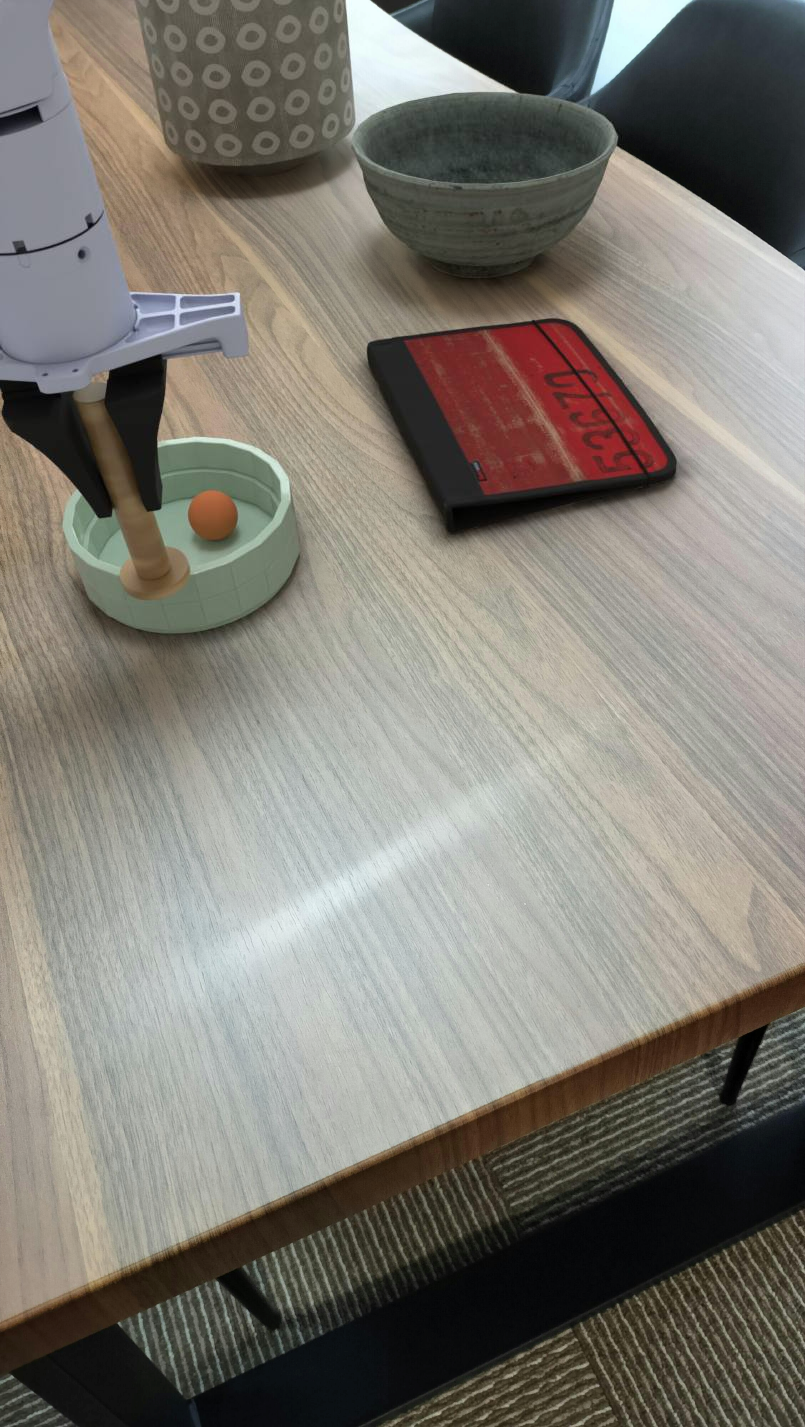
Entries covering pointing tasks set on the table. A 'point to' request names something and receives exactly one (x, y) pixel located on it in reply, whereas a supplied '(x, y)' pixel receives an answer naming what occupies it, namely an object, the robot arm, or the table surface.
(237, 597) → the mixing bowl
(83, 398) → the stick
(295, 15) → the planter
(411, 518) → the table surface
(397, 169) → the bowl
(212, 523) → the ball
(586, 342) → the notebook
